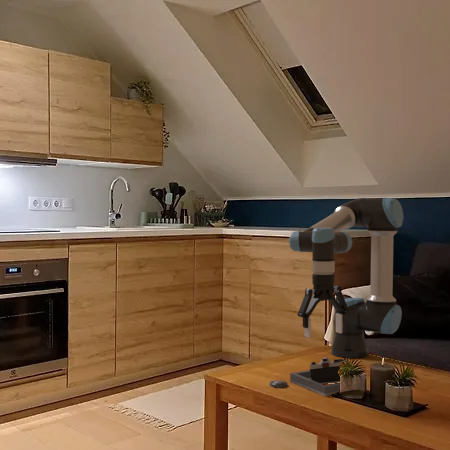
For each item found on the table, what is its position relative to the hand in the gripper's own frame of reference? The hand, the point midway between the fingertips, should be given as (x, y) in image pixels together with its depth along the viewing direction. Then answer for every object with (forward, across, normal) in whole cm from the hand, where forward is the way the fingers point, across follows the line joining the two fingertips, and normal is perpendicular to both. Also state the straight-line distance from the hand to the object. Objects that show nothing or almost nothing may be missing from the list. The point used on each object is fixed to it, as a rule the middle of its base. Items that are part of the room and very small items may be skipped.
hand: (323, 335), depth 208 cm
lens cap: (+18, +13, -8) cm, 24 cm away
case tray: (+17, 0, 0) cm, 17 cm away
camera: (+16, -1, +2) cm, 16 cm away
